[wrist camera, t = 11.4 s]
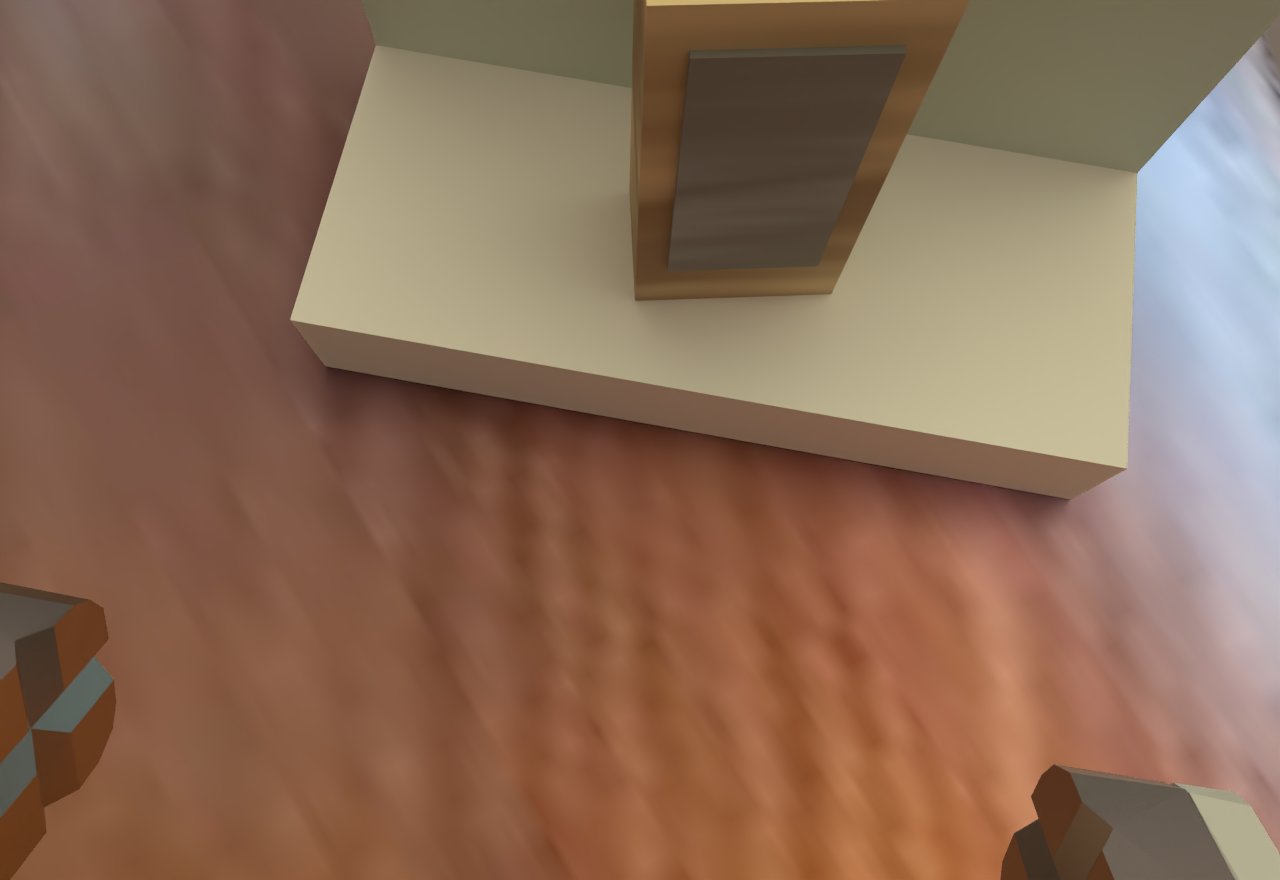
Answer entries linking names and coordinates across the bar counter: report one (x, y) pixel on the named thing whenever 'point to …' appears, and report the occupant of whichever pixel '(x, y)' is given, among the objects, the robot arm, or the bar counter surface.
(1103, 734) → the bar counter surface
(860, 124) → the small box
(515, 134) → the cream l-shaped bookend
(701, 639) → the bar counter surface
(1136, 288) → the bar counter surface
